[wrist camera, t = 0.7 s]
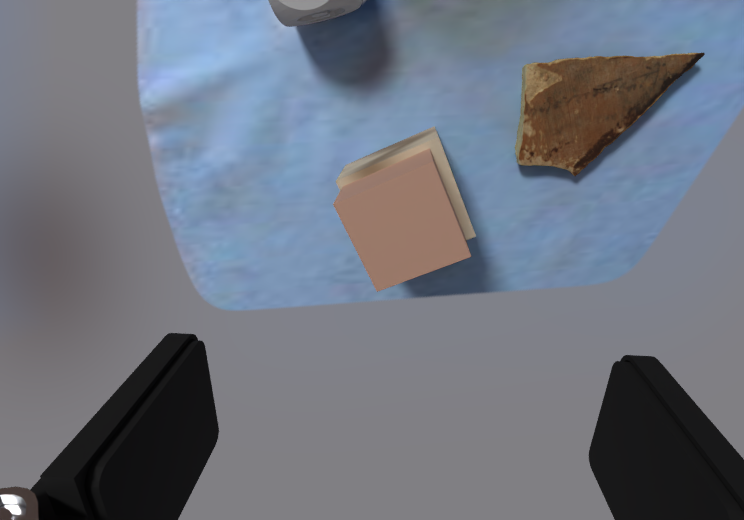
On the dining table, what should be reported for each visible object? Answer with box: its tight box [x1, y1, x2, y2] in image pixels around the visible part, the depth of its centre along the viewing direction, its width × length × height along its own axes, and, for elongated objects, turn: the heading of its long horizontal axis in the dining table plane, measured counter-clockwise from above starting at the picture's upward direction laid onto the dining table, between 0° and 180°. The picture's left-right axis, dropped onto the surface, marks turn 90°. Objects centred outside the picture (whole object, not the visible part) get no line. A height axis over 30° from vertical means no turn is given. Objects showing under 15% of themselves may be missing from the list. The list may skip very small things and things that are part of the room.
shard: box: [515, 53, 704, 176], centre depth 30 cm, size 11×8×2 cm
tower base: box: [336, 127, 476, 240], centre depth 31 cm, size 7×7×5 cm
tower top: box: [333, 148, 471, 292], centre depth 27 cm, size 6×6×4 cm
